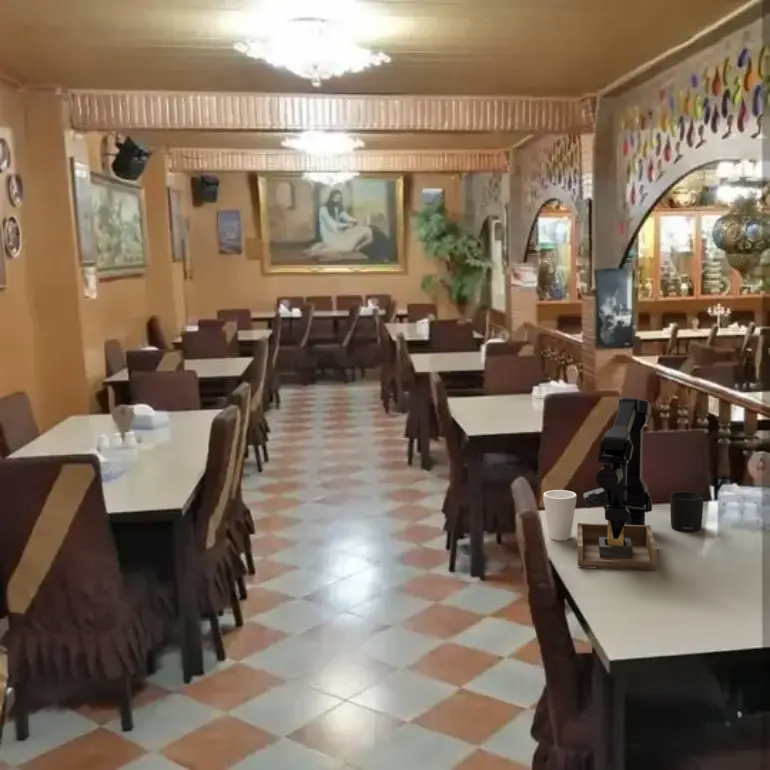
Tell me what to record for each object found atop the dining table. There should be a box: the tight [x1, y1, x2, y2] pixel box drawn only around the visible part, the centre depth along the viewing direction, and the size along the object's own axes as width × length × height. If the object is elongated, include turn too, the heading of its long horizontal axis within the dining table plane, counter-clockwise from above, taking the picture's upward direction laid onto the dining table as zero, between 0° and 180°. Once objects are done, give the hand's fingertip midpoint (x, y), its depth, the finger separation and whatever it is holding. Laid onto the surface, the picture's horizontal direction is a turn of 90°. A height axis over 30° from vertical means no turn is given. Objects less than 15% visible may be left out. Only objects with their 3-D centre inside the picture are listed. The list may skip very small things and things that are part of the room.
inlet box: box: [576, 522, 658, 572], centre depth 242 cm, size 20×20×6 cm
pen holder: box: [669, 491, 704, 533], centre depth 264 cm, size 9×9×10 cm
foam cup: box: [542, 489, 577, 541], centre depth 259 cm, size 10×9×13 cm
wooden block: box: [607, 520, 624, 546], centre depth 241 cm, size 4×4×8 cm
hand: (615, 536), depth 242 cm, fingers closed on wooden block, 4 cm apart
